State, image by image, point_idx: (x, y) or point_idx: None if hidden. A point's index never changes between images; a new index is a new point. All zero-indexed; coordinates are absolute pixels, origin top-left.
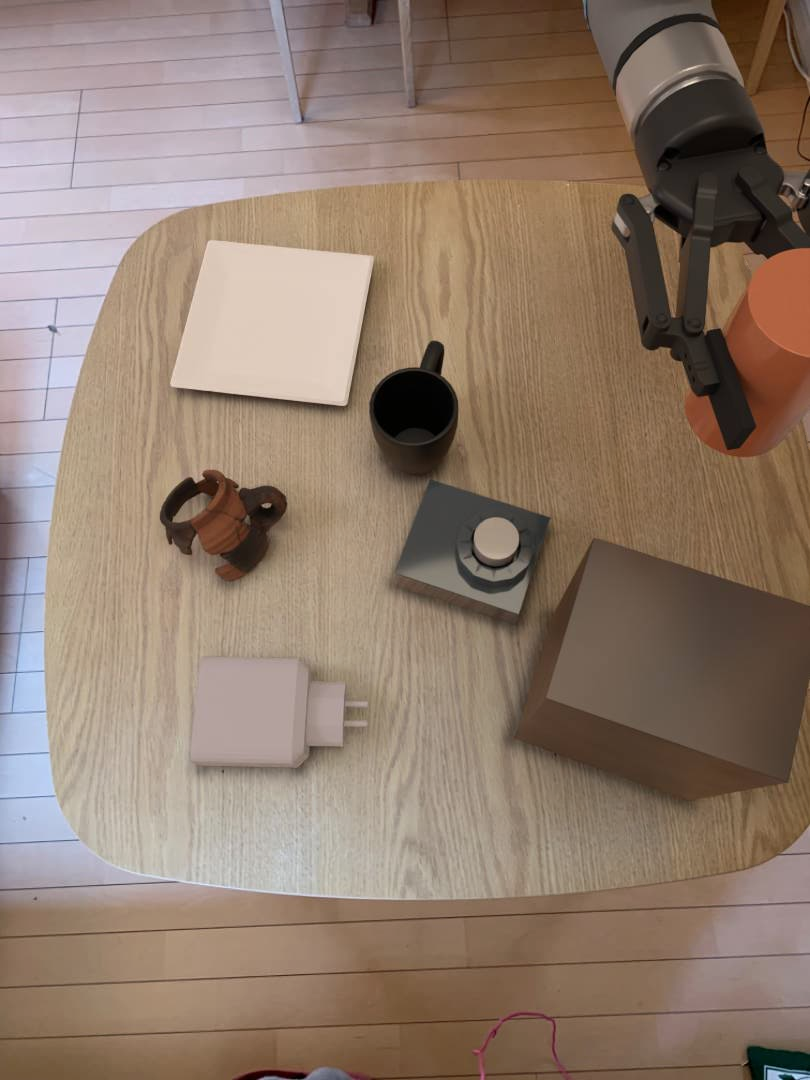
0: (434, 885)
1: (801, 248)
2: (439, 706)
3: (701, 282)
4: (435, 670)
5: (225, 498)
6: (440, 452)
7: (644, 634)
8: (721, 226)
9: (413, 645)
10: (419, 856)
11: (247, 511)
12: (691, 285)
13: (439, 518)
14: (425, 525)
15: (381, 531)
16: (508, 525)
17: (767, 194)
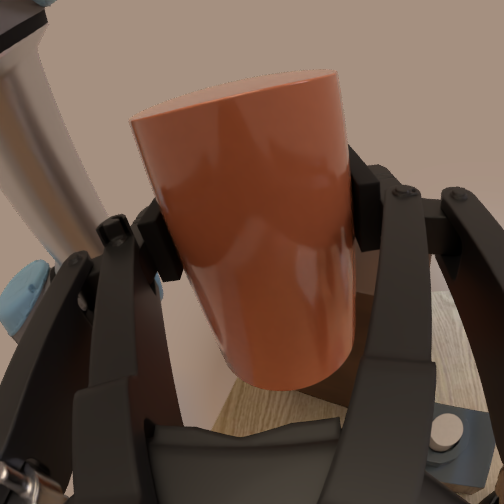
0: (439, 292)
1: (196, 104)
2: (453, 362)
3: (395, 246)
4: (459, 381)
5: None
6: (485, 498)
7: (378, 252)
8: (307, 422)
9: (473, 393)
10: (448, 301)
11: None
12: (417, 238)
13: (476, 458)
14: (485, 451)
15: (501, 461)
16: (438, 440)
17: (97, 465)
